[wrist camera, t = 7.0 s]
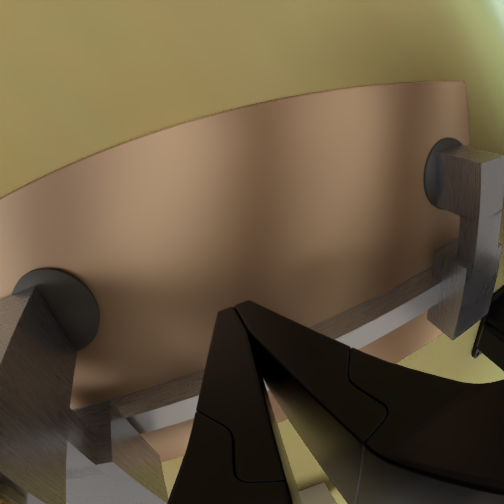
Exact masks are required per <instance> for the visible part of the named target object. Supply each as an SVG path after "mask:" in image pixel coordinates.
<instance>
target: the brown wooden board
mask: <svg viewBox="0 0 504 504" xmlns="http://www.w3.org/2000/svg"><path fill="white" fill-rule="evenodd" d="M461 144H462V145H466V146H470V135H469V119H468V107H467V97H466V88H465V82H459V81H421V82H403V83H389V84H377V85H367V86H358V87H349V88H341V89H334V90H327V91H320V92H314V93H308V94H302V95H296V96H291V97H285V98H280V99H275V100H270V101H265V102H261V103H256V104H252V105H247V106H243V107H239V108H235V109H231V110H227V111H223V112H219V113H215V114H211V115H208V116H204V117H200V118H197V119H193V120H190V121H186V122H183V123H180V124H176V125H173V126H170V127H167V128H164V129H161V130H157V131H154V132H151V133H148V134H146V135H143V136H140V137H137V138H134V139H131V140H128V141H126V142H123V143H120V144H118V145H115V146H112V147H110V148H107V149H105V150H102V151H99V152H97V153H95V154H92V155H90V156H87V157H85V158H82V159H80V160H78V161H75V162H73V163H71V164H68V165H66V166H64V167H62V168H59V169H57V170H55V171H53V172H51V173H49V174H46V175H44V176H42V177H40V178H38V179H36V180H34V181H32V182H30V183H28V184H26V185H24V186H22V187H20V188H18V189H16V190H14V191H12V192H11V193H9V194H7V195H5V196H3V197H1V198H0V300H3V299H5V298H7V297H10V296H12V295H14V294H17V293H19V292H21V291H24V290H26V289H29V288H31V287H33V286H36V287H37V289H38V290H39V292H40V294H41V296H42V298H43V299H44V301H45V303H46V305H47V306H48V308H49V310H50V311H51V313H52V315H53V316H54V318H55V320H56V321H57V323H58V324H59V326H60V328H61V329H62V331H63V332H64V334H65V336H66V337H67V339H68V340H69V342H70V343H71V345H72V346H73V348H74V349H75V351H76V352H77V358H76V364H75V371H74V378H73V386H72V394H71V403H70V408H71V409H74V408H78V407H82V406H85V405H89V404H93V403H97V402H101V401H104V400H108V399H111V398H115V397H118V396H122V395H125V394H129V393H132V392H135V391H139V390H142V389H145V388H148V387H152V386H155V385H158V384H161V383H164V382H167V381H170V380H173V379H176V378H179V377H182V376H185V375H188V374H191V373H194V372H197V371H199V370H202V369H205V366H206V361H207V357H208V352H209V348H210V343H211V339H212V334H213V330H214V325H215V321H216V317H217V313H218V311H220V310H223V309H225V308H228V307H235V305H236V304H239V303H241V302H244V301H247V300H251V301H253V302H255V303H257V304H259V305H261V306H263V307H266V308H268V309H270V310H272V311H274V312H276V313H278V314H280V315H282V316H285V317H287V318H289V319H291V320H293V321H295V322H297V323H300V324H302V325H304V326H306V327H310V326H313V325H315V324H317V323H319V322H322V321H324V320H326V319H328V318H330V317H333V316H335V315H337V314H339V313H341V312H343V311H345V310H348V309H350V308H352V307H354V306H356V305H358V304H360V303H362V302H364V301H366V300H368V299H370V298H372V297H374V296H376V295H378V294H380V293H382V292H384V291H386V290H388V289H390V288H392V287H394V286H396V285H398V284H400V283H402V282H404V281H406V280H408V279H409V278H411V277H413V276H415V275H417V274H419V273H421V272H422V271H424V270H426V269H428V268H430V267H432V266H433V256H434V250H435V249H437V248H439V247H441V246H443V245H444V244H446V243H448V242H450V241H452V240H454V239H456V238H457V237H459V226H460V216H458V215H456V214H454V213H451V212H449V211H447V210H444V209H442V208H440V207H437V206H436V166H435V151H437V150H441V149H445V148H449V147H453V146H457V145H461ZM427 313H428V310H427V311H425V312H423V313H422V314H420V315H418V316H417V317H415V318H413V319H412V320H410V321H408V322H407V323H405V324H403V325H401V326H400V327H398V328H396V329H395V330H393V331H391V332H389V333H387V334H386V335H384V336H382V337H380V338H378V339H377V340H375V341H373V342H371V343H369V344H367V345H365V346H363V347H362V348H360V349H358V350H360V351H362V352H365V353H367V354H370V355H372V356H375V357H377V358H380V359H382V360H385V361H388V362H391V363H394V364H395V363H397V362H399V361H400V360H402V359H404V358H405V357H407V356H408V355H410V354H412V353H413V352H415V351H416V350H418V349H419V348H421V347H423V346H424V345H426V344H427V343H429V342H430V341H432V340H433V339H435V338H436V337H437V336H439V335H440V334H442V333H443V332H442V331H441V330H439V329H438V328H437V327H436V326H434V325H433V324H432V323H431V322H430V321H428V320H427ZM267 392H268V395H269V398H270V402H271V405H272V408H273V412H274V415H275V418H276V421H277V423H279V422H281V421H284V420H286V419H288V418H287V416H286V415H285V413H284V412H283V410H282V409H281V407H280V406H279V404H278V403H277V401H276V400H275V398H274V397H273V395H272V393H271V392H270V390H269V391H267ZM193 421H194V418H193V419H190V420H187V421H184V422H181V423H177V424H174V425H171V426H167V427H164V428H160V429H157V430H153V431H150V432H146V433H142V434H140V435H141V436H142V437H143V438H144V439H145V440H146V442H147V443H148V444H149V445H150V446H151V447H152V448H153V449H154V450H155V451H156V452H157V453H158V454H159V455H160V461H161V462H163V461H167V460H171V459H174V458H178V457H182V456H184V455H185V452H186V449H187V446H188V442H189V438H190V434H191V430H192V426H193Z"/></svg>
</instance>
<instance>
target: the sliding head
mask: <svg viewBox="0 0 504 504" xmlns="http://www.w3.org/2000/svg"><path fill="white" fill-rule="evenodd" d="M76 358H77V352H76V351H75V349H74V348H73V346H72V345H71V343H70V342H69V340H68V339H67V337H66V336H65V334H64V332H63V331H62V329H61V328H60V326H59V324H58V323H57V321H56V320H55V318H54V316H53V315H52V313H51V311H50V310H49V308H48V306H47V305H46V303H45V301H44V299H43V298H42V296H41V294H40V292H39V290H38V289H37V287H36V286H33V287H31V288H29V289H26V290H24V291H21V292H19V293H17V294H14V295H12V296H10V297H7V298H5V299H3V300H0V504H66V502H67V503H68V504H167V502H168V495H167V491H166V486H165V481H164V476H163V471H162V466H161V461H160V455H159V454H158V453H157V452H156V451H155V450H154V449H153V448H152V447H151V446H150V445H149V444H148V443H147V442H146V440H145V439H144V438H143V437H142V436H141V435H140V434H139V433H138V432H137V431H136V430H135V428H134V427H133V426H132V425H131V424H130V423H129V422H128V421H127V419H126V418H125V417H124V416H123V415H122V414H121V412H120V411H119V410H118V409H117V408H116V406H115V405H114V404H113V403H112V402H111V400H109V401H106V402H102V403H98V404H95V405H91V406H87V407H83V408H79V409H75V410H72V409H71V408H70V403H71V394H72V386H73V378H74V371H75V364H76Z"/></svg>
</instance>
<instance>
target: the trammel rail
mask: <svg viewBox="0 0 504 504" xmlns="http://www.w3.org/2000/svg"><path fill="white" fill-rule="evenodd" d="M435 166H436V206H437V207H440V208H442V209H444V210H447V211H449V212H451V213H454V214H456V215H458V216H460V226H459V237H457V238H456V239H454V240H452V241H450V242H448V243H446V244H444V245H443V246H441V247H439V248H437V249H435V250H434V256H433V266H432V267H430V268H428V269H426V270H424V271H422V272H421V273H419V274H417V275H415V276H413V277H411V278H409V279H408V280H406V281H404V282H402V283H400V284H398V285H396V286H394V287H392V288H390V289H388V290H386V291H384V292H382V293H380V294H378V295H376V296H374V297H372V298H370V299H368V300H366V301H364V302H362V303H360V304H358V305H356V306H354V307H352V308H350V309H348V310H345V311H343V312H341V313H339V314H337V315H335V316H333V317H330V318H328V319H326V320H324V321H322V322H319V323H317V324H315V325H313V326H310V327H308V328H310V329H313V330H315V331H317V332H319V333H321V334H324V335H326V336H328V337H330V338H333V339H335V340H337V341H339V342H341V343H344V344H346V345H348V346H350V348H355V349H360V348H362V347H363V346H365V345H367V344H369V343H371V342H373V341H375V340H377V339H378V338H380V337H382V336H384V335H386V334H387V333H389V332H391V331H393V330H395V329H396V328H398V327H400V326H401V325H403V324H405V323H407V322H408V321H410V320H412V319H413V318H415V317H417V316H418V315H420V314H422V313H423V312H425V311H427V310H428V313H427V320H428V321H430V322H431V323H432V324H433V325H434V326H436V327H437V328H438V329H439V330H441V331H442V332H443V333H444V334H445V335H447V336H448V337H449V338H450V339H451V340H454V339H456V338H457V337H458V336H460V335H461V334H462V333H464V332H465V331H466V330H467V329H469V328H470V327H471V326H473V325H474V324H475V323H476V322H478V321H479V320H480V319H481V318H482V317H484V316H485V315H486V314H487V313H488V311H489V307H490V304H491V300H492V295H493V291H494V287H495V282H496V278H497V273H498V268H499V262H500V257H501V251H502V245H501V244H499V243H498V241H499V234H500V226H501V217H502V207H503V194H504V155H501V154H497V153H493V152H490V151H486V150H482V149H478V148H474V147H470V146H466V145H462V144H461V145H457V146H453V147H449V148H445V149H441V150H437V151H435ZM204 370H205V369H202V370H199V371H197V372H194V373H191V374H188V375H185V376H182V377H179V378H176V379H173V380H170V381H167V382H164V383H161V384H158V385H155V386H152V387H148V388H145V389H142V390H139V391H135V392H132V393H129V394H125V395H122V396H118V397H115V398H111V399H108V400H104V401H101V402H97V403H93V404H89V405H85V406H82V407H78V408H74V409H72V410H75V409H79V408H83V407H87V406H91V405H95V404H98V403H102V402H106V401H109V400H111V402H112V403H113V404H114V405H115V406H116V408H117V409H118V410H119V411H120V412H121V414H122V415H123V416H124V417H125V418H126V419H127V421H128V422H129V423H130V424H131V425H132V426H133V427H134V428H135V430H136V431H137V432H138V433H139V434H142V433H146V432H150V431H153V430H157V429H160V428H164V427H167V426H171V425H174V424H177V423H181V422H184V421H187V420H190V419H193V418H194V416H195V413H196V412H197V411H196V407H197V403H198V398H199V393H200V389H201V384H202V379H203V375H204ZM264 383H265V381H264ZM265 386H266V389H267V391H269V389H268V387H267V385H266V383H265Z"/></svg>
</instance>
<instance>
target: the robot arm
mask: <svg viewBox="0 0 504 504" xmlns="http://www.w3.org/2000/svg"><path fill="white" fill-rule="evenodd" d="M481 353H483V354H484V355H485V356H487V357H488V358H489V359H490V360H491V361H493V362H494V363H495V364H496V365H497V366H498V367H500V368H501V369H502V370H503V371H504V287H503V288H502V289H501V290H500V291H499V292H497V293H496V294H495V295H494V296H493V297H492V300H491V304H490V307H489V311H488V313H487V314H486V315H485V316H484V317H483V318H482V322H481V325H480V329H479V332H478V336H477V339H476V342H475V345H474V349H473V352H472V357H474V358H477V357H478V356H479V355H480V354H481ZM264 381H265V383H266V385H267V387H268V389H269V390H270V392H271V393H272V395H273V397H274V398H275V400H276V401H277V403H278V404H279V406H280V407H281V409H282V410H283V412H284V413H285V415H286V416H287V418H288V419H289V421H290V422H291V424H292V425H293V427H294V428H295V430H296V431H297V433H298V434H299V436H300V437H301V439H302V440H303V442H304V443H305V444H306V446H307V447H308V449H309V450H310V452H311V453H312V455H313V456H314V457H315V459H316V460H317V462H318V463H319V465H320V466H321V467H322V469H323V470H324V472H325V473H326V474H327V476H328V477H329V479H330V480H331V481H332V483H333V484H334V485H335V487H336V488H337V490H338V491H339V492H340V494H341V495H342V496H343V498H344V499H345V500H346V502H347V503H348V504H504V380H500V381H496V382H492V383H484V384H472V383H464V382H459V381H455V380H451V379H447V378H443V377H439V376H436V375H432V374H428V373H424V372H421V371H417V370H414V369H410V368H407V367H403V366H400V365H397V364H394V363H391V362H388V361H385V360H382V359H380V358H377V357H375V356H372V355H370V354H367V353H365V352H362V351H360V350H358V349H355V348H350V346H348V345H346V344H344V343H341V342H339V341H337V340H335V339H333V338H330V337H328V336H326V335H324V334H321V333H319V332H317V331H315V330H313V329H310V328H308V327H306V326H304V325H302V324H300V323H297V322H295V321H293V320H291V319H289V318H287V317H285V316H282V315H280V314H278V313H276V312H274V311H272V310H270V309H268V308H266V307H263V306H261V305H259V304H257V303H255V302H253V301H251V300H247V301H244V302H241V303H239V304H236V305H235V307H228V308H225V309H223V310H220V311H218V313H217V317H216V321H215V325H214V330H213V334H212V339H211V343H210V348H209V352H208V357H207V361H206V366H205V370H204V375H203V379H202V384H201V389H200V393H199V398H198V403H197V407H196V411H197V412H196V413H195V416H194V421H193V426H192V430H191V434H190V438H189V442H188V446H187V449H186V452H185V455H184V458H183V461H182V464H181V467H180V470H179V473H178V475H177V478H176V481H175V483H174V486H173V489H172V492H171V494H170V497H169V500H168V502H167V504H302V501H301V498H300V495H299V492H298V489H297V485H296V482H295V479H294V476H293V473H292V470H291V467H290V463H289V460H288V457H287V454H286V451H285V447H284V444H283V441H282V438H281V435H280V431H279V428H278V425H277V421H276V418H275V415H274V412H273V408H272V405H271V402H270V398H269V395H268V392H267V389H266V386H265V383H264Z"/></svg>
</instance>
